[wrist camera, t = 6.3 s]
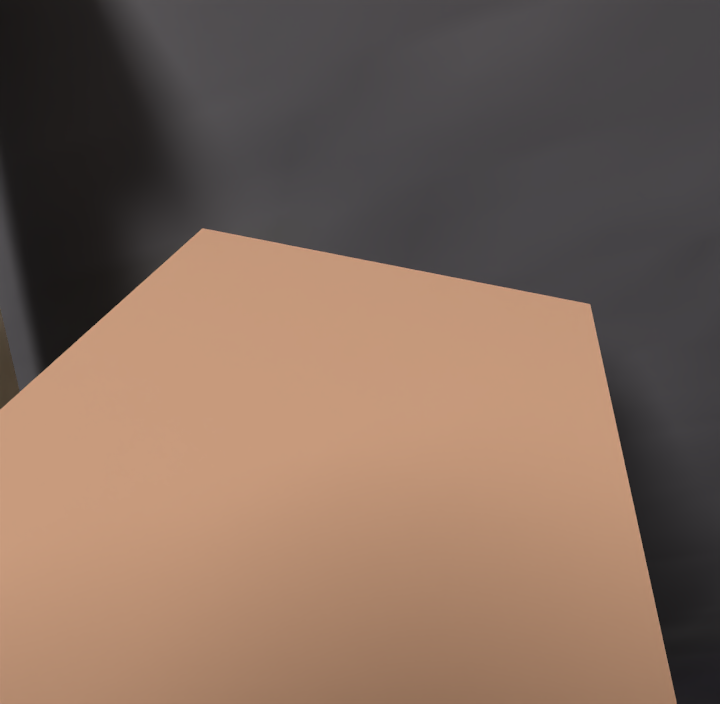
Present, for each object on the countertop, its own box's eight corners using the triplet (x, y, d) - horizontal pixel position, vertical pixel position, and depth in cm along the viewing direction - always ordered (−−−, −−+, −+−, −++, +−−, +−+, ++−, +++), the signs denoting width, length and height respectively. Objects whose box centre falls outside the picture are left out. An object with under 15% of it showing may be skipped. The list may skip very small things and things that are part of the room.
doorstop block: (481, 602, 11) (455, 1133, 6) (209, 534, 12) (-18, 974, 7) (589, 303, 8) (727, 937, 3) (202, 228, 8) (-265, 645, 3)
